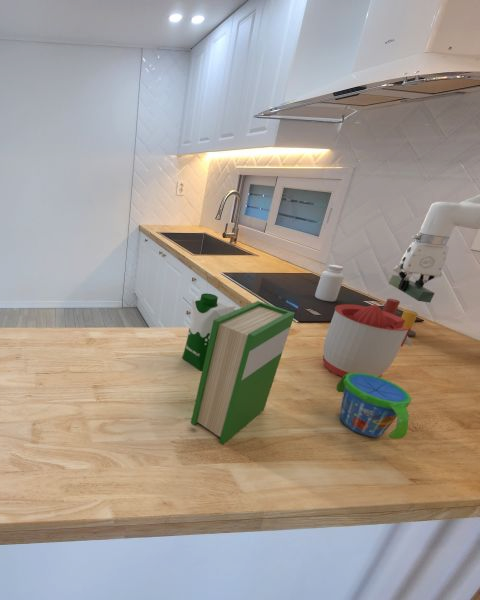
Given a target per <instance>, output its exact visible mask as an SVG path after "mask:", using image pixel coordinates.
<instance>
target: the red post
mask: <svg viewBox="0 0 480 600" xmlns="http://www.w3.org/2000/svg"><path fill="white" fill-rule="evenodd" d="M400 303H401V301H400V300H398V299H395V298H387V299H386V301H385V304H384V306H383V308H382V311H385V312H388V313H391V314H394V315H396V312H397V309H398V307H399V306H400Z"/></svg>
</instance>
